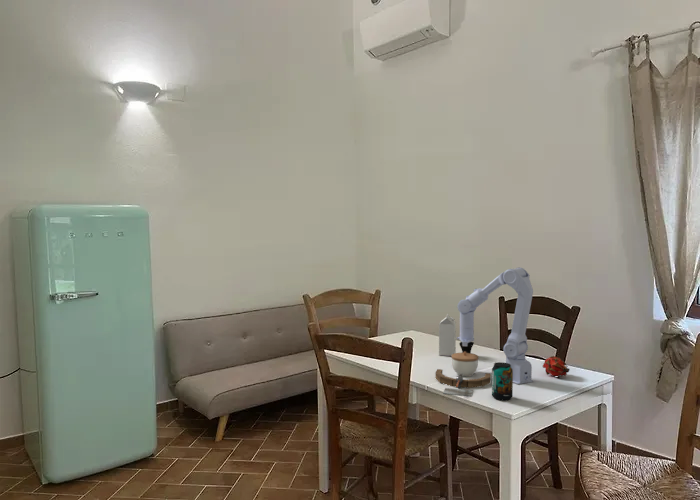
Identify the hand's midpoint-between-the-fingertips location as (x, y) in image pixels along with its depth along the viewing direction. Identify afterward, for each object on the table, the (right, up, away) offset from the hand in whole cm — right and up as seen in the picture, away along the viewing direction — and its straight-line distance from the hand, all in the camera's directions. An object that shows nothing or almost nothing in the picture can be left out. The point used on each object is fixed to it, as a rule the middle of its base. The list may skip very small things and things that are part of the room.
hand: (466, 359), depth 220 cm
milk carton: (-3, -3, +27) cm, 27 cm away
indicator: (-8, -3, -26) cm, 27 cm away
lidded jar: (-2, -5, -6) cm, 8 cm away
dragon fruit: (+34, -5, -9) cm, 36 cm away
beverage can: (+5, -6, -35) cm, 36 cm away
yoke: (-7, -6, -21) cm, 23 cm away
